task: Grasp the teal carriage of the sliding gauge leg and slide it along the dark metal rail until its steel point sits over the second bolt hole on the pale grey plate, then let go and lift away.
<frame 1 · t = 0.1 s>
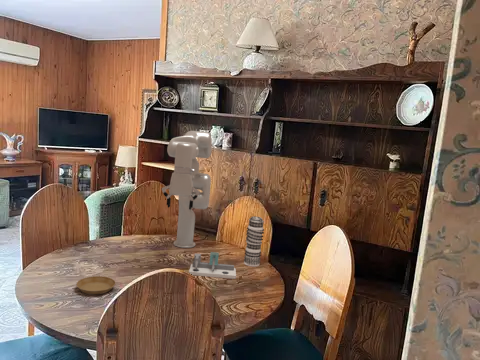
hand: (179, 208, 175), 31 cm above the table, tool pointing down, fingers open, 9 cm apart
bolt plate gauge: (212, 272, 185), on the table
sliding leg: (213, 261, 185), point 5 cm above the table, slide at 0.0 cm
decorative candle: (251, 264, 204), on the table
plant saucer: (95, 289, 155), on the table
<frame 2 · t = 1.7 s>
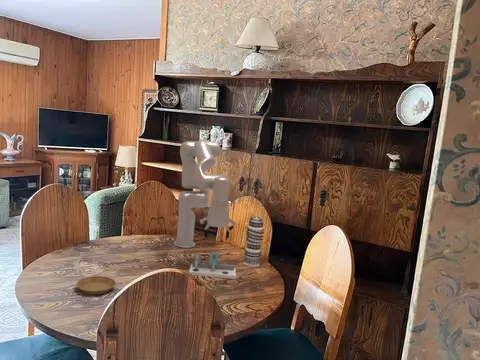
hand: (216, 238, 185), 17 cm above the table, tool pointing down, fingers open, 9 cm apart
nothing on the table moved.
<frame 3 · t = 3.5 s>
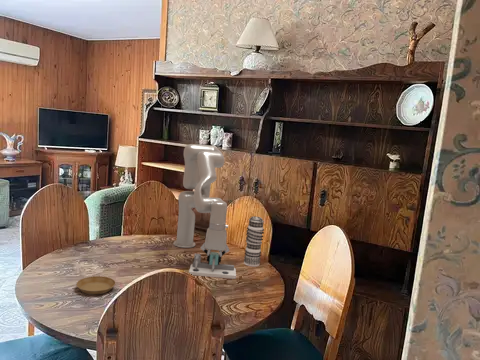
hand: (213, 262, 187), 4 cm above the table, tool pointing down, fingers closed on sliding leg, 4 cm apart
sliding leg: (213, 261, 185), point 5 cm above the table, slide at 0.0 cm, touching gripper
everything else where it was.
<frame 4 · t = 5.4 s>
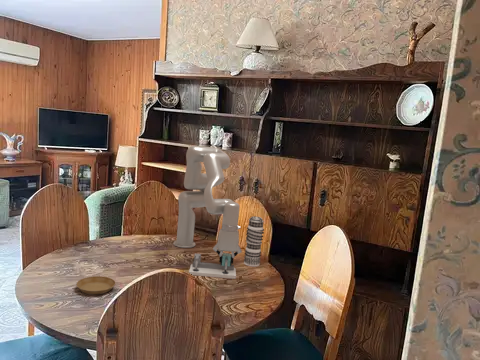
hand: (225, 264, 187), 4 cm above the table, tool pointing down, fingers closed on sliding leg, 4 cm apart
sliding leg: (226, 262, 185), point 5 cm above the table, slide at 5.9 cm, touching gripper
everything else where it was.
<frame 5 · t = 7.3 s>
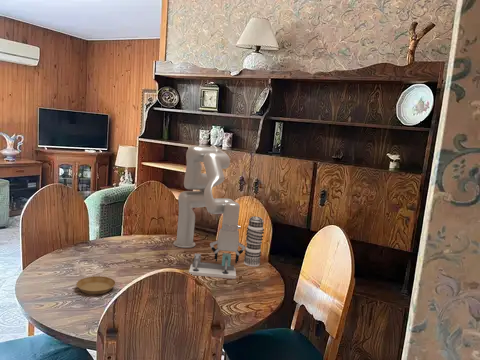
hand: (226, 261, 187), 5 cm above the table, tool pointing down, fingers open, 9 cm apart
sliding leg: (226, 262, 185), point 5 cm above the table, slide at 6.0 cm
everything else where it was.
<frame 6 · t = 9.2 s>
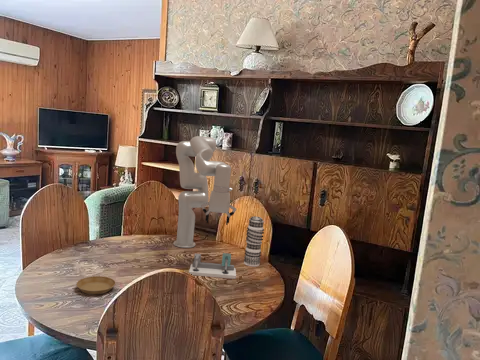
hand: (217, 223, 190), 22 cm above the table, tool pointing down, fingers open, 9 cm apart
nothing on the table moved.
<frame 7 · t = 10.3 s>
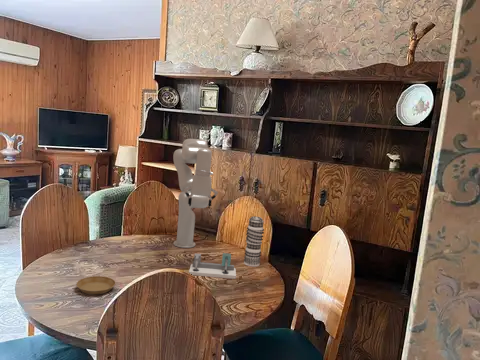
hand: (199, 206, 197), 28 cm above the table, tool pointing down, fingers open, 9 cm apart
nothing on the table moved.
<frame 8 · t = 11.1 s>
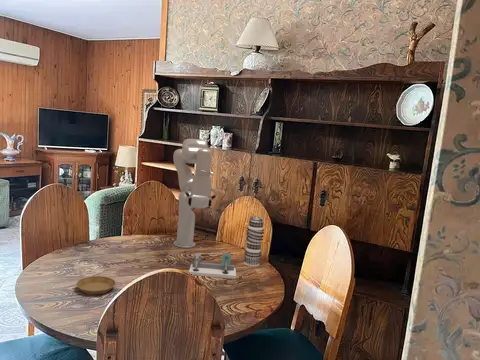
hand: (199, 206, 197), 28 cm above the table, tool pointing down, fingers open, 9 cm apart
nothing on the table moved.
at the end: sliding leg slide at 6.0 cm; the gripper is holding nothing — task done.
